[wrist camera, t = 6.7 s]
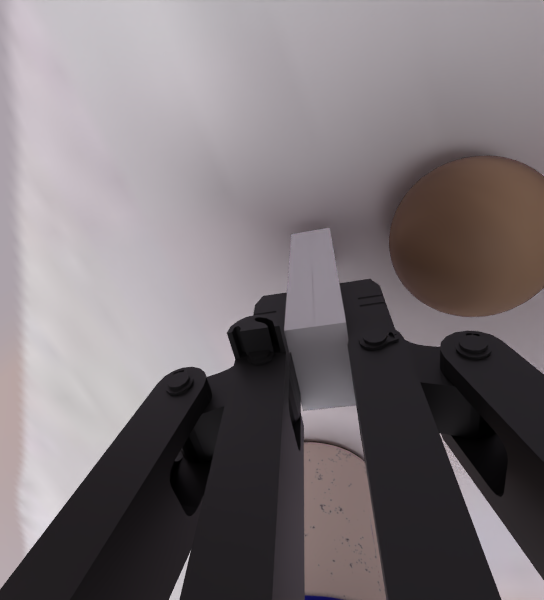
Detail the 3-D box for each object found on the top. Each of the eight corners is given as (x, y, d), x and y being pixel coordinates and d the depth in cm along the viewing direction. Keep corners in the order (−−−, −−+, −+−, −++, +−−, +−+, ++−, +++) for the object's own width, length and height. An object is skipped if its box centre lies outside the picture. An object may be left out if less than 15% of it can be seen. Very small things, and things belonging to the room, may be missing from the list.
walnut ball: (346, 186, 13) (438, 145, 16) (369, 321, 16) (446, 266, 18) (519, 182, 9) (607, 126, 12) (516, 369, 11) (589, 288, 14)
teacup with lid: (229, 438, 24) (176, 702, 14) (381, 432, 23) (442, 716, 13) (258, 545, 30) (235, 785, 20) (379, 545, 29) (421, 800, 19)
